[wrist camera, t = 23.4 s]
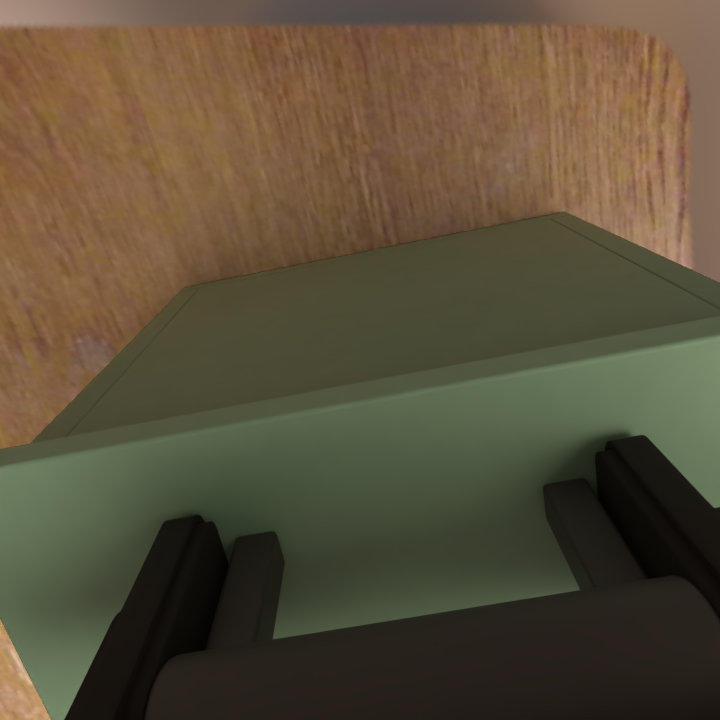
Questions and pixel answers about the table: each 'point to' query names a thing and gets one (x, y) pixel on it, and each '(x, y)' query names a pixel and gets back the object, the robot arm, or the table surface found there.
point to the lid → (389, 543)
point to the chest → (387, 318)
